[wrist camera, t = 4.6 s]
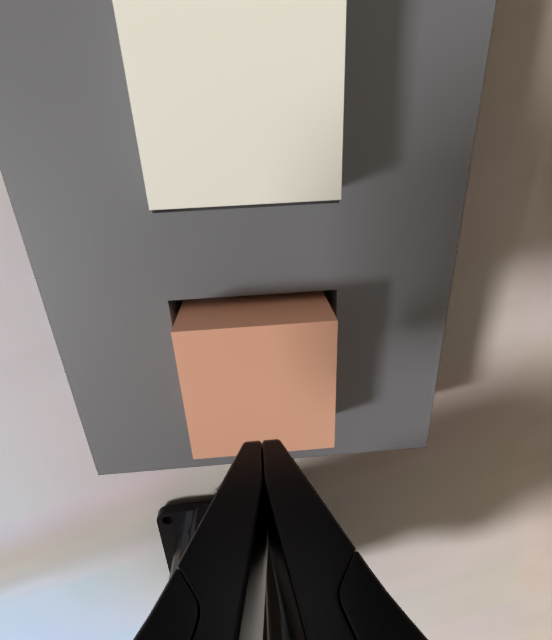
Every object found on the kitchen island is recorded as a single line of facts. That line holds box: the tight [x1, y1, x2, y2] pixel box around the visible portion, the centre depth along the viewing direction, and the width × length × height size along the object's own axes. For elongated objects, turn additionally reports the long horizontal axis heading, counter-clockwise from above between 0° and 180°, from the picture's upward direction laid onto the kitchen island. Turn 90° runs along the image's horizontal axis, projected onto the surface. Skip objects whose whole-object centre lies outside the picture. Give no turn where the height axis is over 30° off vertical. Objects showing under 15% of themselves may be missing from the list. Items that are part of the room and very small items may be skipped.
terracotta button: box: [171, 291, 338, 459], centre depth 12 cm, size 4×4×2 cm
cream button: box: [112, 0, 347, 210], centre depth 9 cm, size 4×4×2 cm
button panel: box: [0, 0, 496, 475], centre depth 10 cm, size 23×12×2 cm, turn 2°
